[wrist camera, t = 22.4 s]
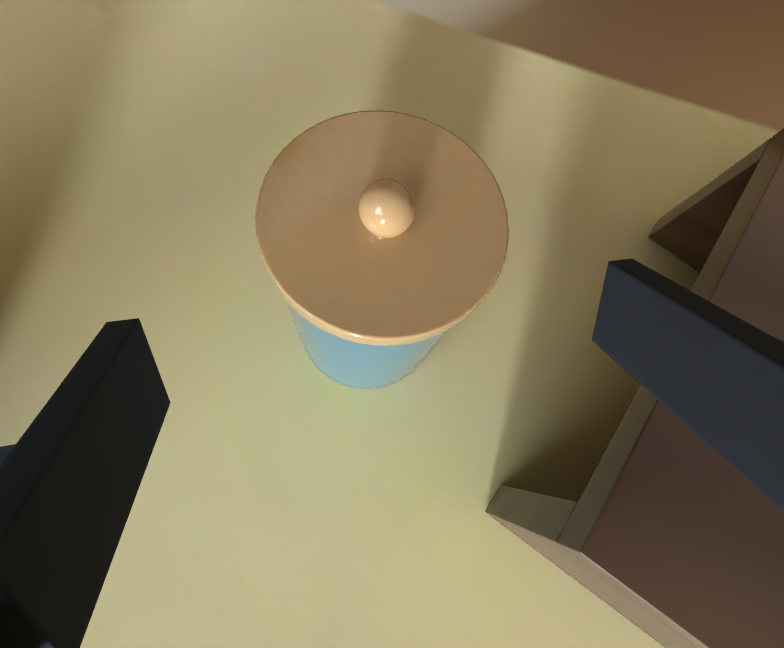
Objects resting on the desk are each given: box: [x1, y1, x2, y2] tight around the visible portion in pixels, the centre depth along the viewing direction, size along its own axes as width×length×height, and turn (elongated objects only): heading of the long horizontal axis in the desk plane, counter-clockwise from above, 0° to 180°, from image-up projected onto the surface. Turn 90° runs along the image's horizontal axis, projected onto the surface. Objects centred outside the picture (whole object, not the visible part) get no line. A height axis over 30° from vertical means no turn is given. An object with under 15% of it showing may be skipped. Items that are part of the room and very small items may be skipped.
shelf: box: [485, 129, 784, 648], centre depth 19 cm, size 20×12×9 cm, turn 144°
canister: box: [255, 111, 509, 389], centre depth 17 cm, size 7×7×12 cm
